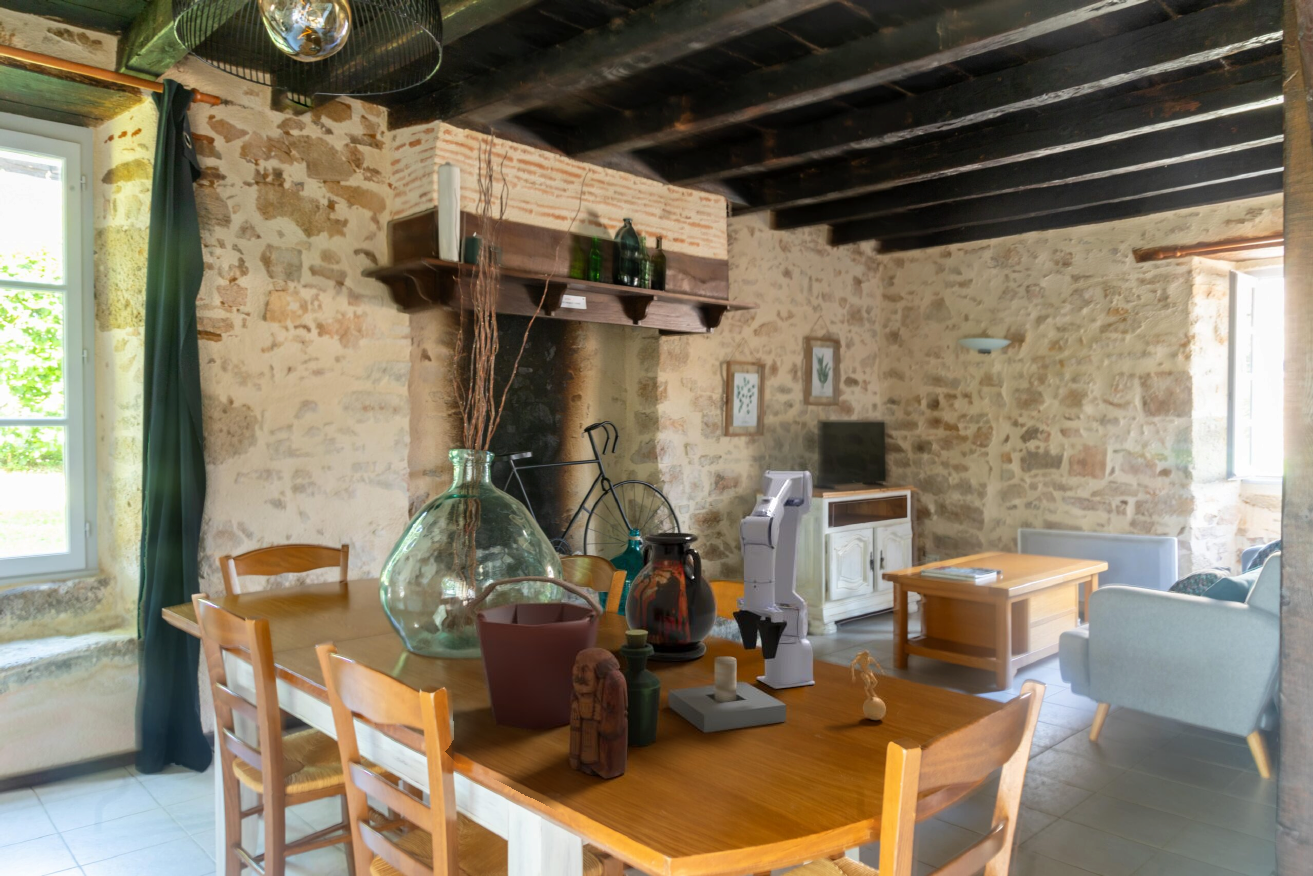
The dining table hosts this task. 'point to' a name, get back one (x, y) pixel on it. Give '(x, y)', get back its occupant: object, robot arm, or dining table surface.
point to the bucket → (533, 654)
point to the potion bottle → (640, 690)
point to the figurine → (872, 705)
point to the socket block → (726, 708)
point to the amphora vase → (672, 598)
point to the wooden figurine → (598, 715)
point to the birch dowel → (725, 679)
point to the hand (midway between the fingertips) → (759, 653)
